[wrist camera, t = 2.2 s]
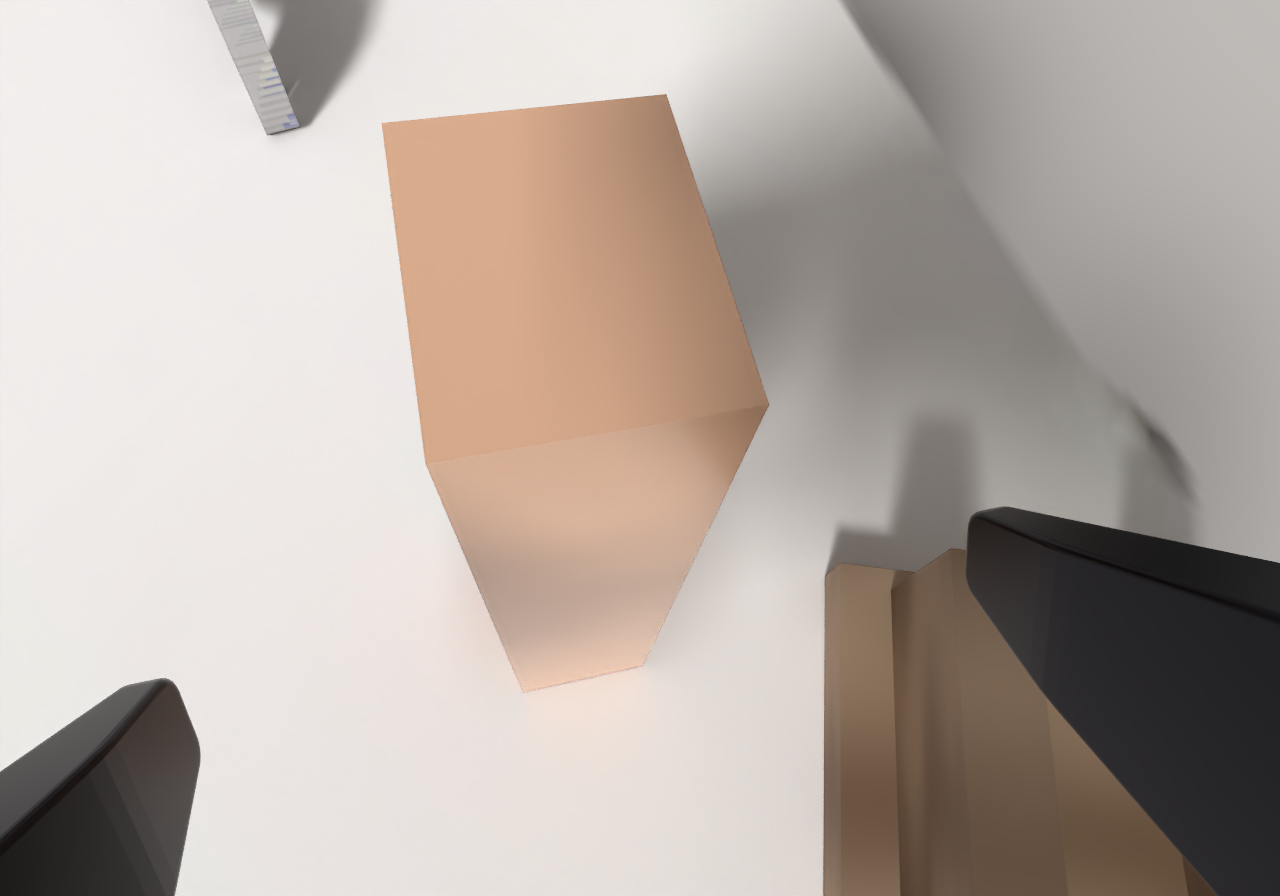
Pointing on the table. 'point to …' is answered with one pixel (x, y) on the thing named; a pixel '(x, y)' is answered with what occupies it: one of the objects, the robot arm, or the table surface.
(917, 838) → the slot rack
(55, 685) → the table surface
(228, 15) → the caliper
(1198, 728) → the robot arm
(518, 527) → the clay block
